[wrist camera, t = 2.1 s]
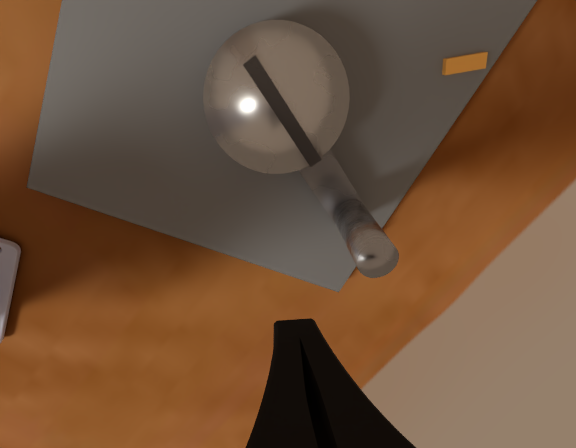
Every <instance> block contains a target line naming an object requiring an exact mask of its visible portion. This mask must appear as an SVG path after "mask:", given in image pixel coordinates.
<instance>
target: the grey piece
mask: <svg viewBox="0 0 576 448" xmlns="http://www.w3.org/2000/svg"><path fill="white" fill-rule="evenodd" d="M349 100H350V95H349V84H348V78H347V75H346V71H345V68H344V66H343V64H342V61H341V59H340V58H339V56H338V54H337V53H336V51H335V50H334V48H333V47H332V46H331V45H330V43H329V42H328V41H327V40H325V39H324V38H323V37H322V36H321V35H320V34H318V33H317V32H315V31H314V30H313V29H311V28H309V27H307V26H305V25H302V24H299V23H296V22H293V21H287V20H267V21H261V22H257V23H254V24H251V25H249V26H247V27H245V28H243V29H241V30H239V31H238V32H236V33H235V34H233V35H232V36H231V37H230V38H229V39H228V40H227V41H225V43H224V44H223V45H222V46H221V47H220V49H219V50H218V51H217V53H216V54H215V56H214V58H213V59H212V61H211V64H210V66H209V68H208V71H207V74H206V78H205V83H204V89H203V104H204V112H205V116H206V120H207V123H208V126H209V129H210V131H211V133H212V135H213V137H214V138H215V140H216V141H217V143H218V144H219V146H220V147H221V148H222V149H223V150H224V151H225V153H226V154H228V155H229V156H230V157H231V158H232V159H233V160H235V161H236V162H238V163H239V164H241V165H243V166H245V167H247V168H249V169H252V170H255V171H258V172H262V173H269V174H284V173H290V172H294V171H298V170H299V172H300V173H301V175H302V176H303V178H304V179H305V181H306V182H307V183H308V185H309V186H310V188H311V189H312V191H313V192H314V194H315V195H316V197H317V198H318V200H319V201H320V202H321V204H322V205H323V207H324V208H325V210H326V211H327V213H328V214H329V216H330V217H331V218H332V220H333V221H334V223H335V224H336V226H337V228H338V230H339V232H340V234H341V236H342V238H343V240H344V242H345V244H346V246H347V248H348V250H349V252H350V254H351V256H352V258H353V260H354V262H355V264H356V266H357V268H358V269H359V271H360V272H361V273H362V274H363V275H364V276H366V277H370V278H377V277H381V276H384V275H386V274H388V273H389V272H391V271H392V270H393V269H394V268H395V266H396V265H397V262H398V259H399V254H398V251H397V249H396V247H395V246H394V245H393V243H392V242H391V241H390V239H389V238H388V237H387V235H386V234H385V233H384V231H383V230H382V229H381V227H380V226H379V224H378V223H377V222H376V220H375V219H374V218H373V216H372V215H371V214H370V212H369V211H368V210H367V208H366V207H365V205H364V204H363V202H362V201H361V199H360V197H359V196H358V194H357V192H356V191H355V189H354V187H353V186H352V184H351V182H350V181H349V179H348V178H347V176H346V174H345V173H344V171H343V169H342V168H341V166H340V164H339V163H338V161H337V159H336V158H335V156H334V155H333V153H332V151H331V150H330V148H331V147H332V146H333V145H334V144H335V142H336V140H337V139H338V137H339V136H340V134H341V132H342V129H343V127H344V125H345V122H346V119H347V114H348V110H349Z"/></svg>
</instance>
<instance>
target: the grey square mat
mask: <svg viewBox="0 0 576 448" xmlns="http://www.w3.org/2000/svg"><path fill="white" fill-rule="evenodd" d="M536 1H537V0H62V4H61V9H60V14H59V20H58V25H57V30H56V35H55V41H54V46H53V51H52V57H51V62H50V67H49V72H48V78H47V83H46V88H45V93H44V99H43V104H42V109H41V115H40V120H39V125H38V130H37V136H36V141H35V146H34V152H33V157H32V162H31V167H30V173H29V178H28V183H27V188H30V189H33V190H36V191H39V192H42V193H45V194H48V195H50V196H53V197H56V198H59V199H62V200H65V201H68V202H71V203H74V204H77V205H80V206H83V207H86V208H89V209H92V210H95V211H98V212H101V213H104V214H107V215H110V216H113V217H116V218H119V219H122V220H125V221H128V222H131V223H134V224H137V225H140V226H143V227H146V228H149V229H152V230H155V231H158V232H161V233H164V234H167V235H170V236H173V237H176V238H179V239H182V240H185V241H188V242H191V243H194V244H197V245H200V246H202V247H205V248H208V249H211V250H214V251H217V252H220V253H223V254H226V255H229V256H232V257H235V258H238V259H241V260H244V261H247V262H250V263H253V264H256V265H259V266H262V267H265V268H268V269H271V270H274V271H277V272H280V273H283V274H286V275H289V276H292V277H295V278H298V279H301V280H304V281H307V282H310V283H313V284H316V285H319V286H322V287H325V288H328V289H331V290H334V291H337V292H339V291H340V289H341V288H342V286H343V285H344V284H345V282H346V281H347V279H348V278H349V276H350V275H351V273H352V272H353V270H354V269H355V267H356V264H355V262H354V260H353V258H352V256H351V254H350V252H349V250H348V248H347V246H346V244H345V242H344V240H343V238H342V236H341V234H340V232H339V230H338V228H337V226H336V224H335V223H334V221H333V220H332V218H331V217H330V216H329V214H328V213H327V211H326V210H325V208H324V207H323V205H322V204H321V202H320V201H319V200H318V198H317V197H316V195H315V194H314V192H313V191H312V189H311V188H310V186H309V185H308V183H307V182H306V181H305V179H304V178H303V176H302V175H301V173H300V172H299V170H298V171H294V172H290V173H284V174H269V173H262V172H258V171H255V170H252V169H249V168H247V167H245V166H243V165H241V164H239V163H238V162H236V161H235V160H233V159H232V158H231V157H230V156H229V155H228V154H226V153H225V151H224V150H223V149H222V148H221V147H220V146H219V144H218V143H217V141H216V140H215V138H214V137H213V135H212V133H211V131H210V129H209V126H208V123H207V120H206V116H205V112H204V104H203V89H204V83H205V78H206V74H207V71H208V68H209V66H210V64H211V61H212V59H213V58H214V56H215V54H216V53H217V51H218V50H219V49H220V47H221V46H222V45H223V44H224V43H225V41H227V40H228V39H229V38H230V37H231V36H232V35H233V34H235V33H236V32H238V31H239V30H241V29H243V28H245V27H247V26H249V25H251V24H254V23H257V22H261V21H267V20H287V21H293V22H296V23H299V24H302V25H305V26H307V27H309V28H311V29H313V30H314V31H315V32H317V33H318V34H320V35H321V36H322V37H323V38H324V39H325V40H327V41H328V42H329V43H330V45H331V46H332V47H333V48H334V50H335V51H336V53H337V54H338V56H339V58H340V59H341V61H342V64H343V66H344V68H345V71H346V75H347V78H348V84H349V95H350V100H349V110H348V114H347V119H346V122H345V125H344V127H343V129H342V132H341V134H340V136H339V137H338V139H337V140H336V142H335V144H334V145H333V146H332V147H331V148H330V150H331V151H332V153H333V155H334V156H335V158H336V159H337V161H338V163H339V164H340V166H341V168H342V169H343V171H344V173H345V174H346V176H347V178H348V179H349V181H350V182H351V184H352V186H353V187H354V189H355V191H356V192H357V194H358V196H359V197H360V199H361V201H362V202H363V204H364V205H365V207H366V208H367V210H368V211H369V212H370V214H371V215H372V216H373V218H374V219H375V220H376V222H377V223H378V224H379V226H380V227H381V229H382V228H383V226H384V225H385V223H386V222H387V220H388V219H389V217H390V216H391V214H392V213H393V212H394V210H395V209H396V207H397V206H398V204H399V203H400V201H401V200H402V198H403V197H404V195H405V194H406V192H407V191H408V189H409V188H410V187H411V185H412V184H413V182H414V181H415V179H416V178H417V176H418V175H419V173H420V172H421V170H422V169H423V167H424V166H425V165H426V163H427V162H428V160H429V159H430V157H431V156H432V154H433V153H434V151H435V150H436V148H437V147H438V145H439V144H440V142H441V141H442V140H443V138H444V137H445V135H446V134H447V132H448V131H449V129H450V128H451V126H452V125H453V123H454V122H455V120H456V119H457V117H458V116H459V115H460V113H461V112H462V110H463V109H464V107H465V106H466V104H467V103H468V101H469V100H470V98H471V97H472V95H473V94H474V93H475V91H476V90H477V88H478V87H479V85H480V84H481V82H482V81H483V79H484V78H485V76H486V75H487V73H488V72H489V70H490V69H491V68H492V66H493V65H494V63H495V62H496V60H497V59H498V57H499V56H500V54H501V53H502V51H503V50H504V48H505V47H506V46H507V44H508V43H509V41H510V40H511V38H512V37H513V35H514V34H515V32H516V31H517V29H518V28H519V26H520V25H521V23H522V22H523V21H524V19H525V18H526V16H527V15H528V13H529V12H530V10H531V9H532V7H533V6H534V4H535V3H536Z"/></svg>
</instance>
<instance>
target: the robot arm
mask: <svg viewBox="0 0 576 448" xmlns="http://www.w3.org/2000/svg"><path fill="white" fill-rule="evenodd" d="M0 247H1V249H0V343H1V342H2V340H3V339H4V334H5V329H6V324H7V319H8V314H9V309H10V304H11V299H12V294H13V289H14V284H15V279H16V274H17V268H18V263H19V258H20V253H21V248H20V247H19V245H17V244H16V243H14V242H12V241H9V240H5V239H2V238H0ZM246 448H416V447H415V446H414V445H413V444H411V443H410V442H409V441H408V440H407V439H406V438H405V437H404V436H403V435H402V434H401V433H400V432H399V431H398V430H397V429H396V428H395V427H394V426H393V425H392V424H391V423H390V422H389V421H388V420H387V419H386V418H385V417H384V416H383V415H382V414H381V413H380V411H379V410H378V409H377V408H376V407H375V406H374V405H373V404H372V402H371V401H370V400H369V399H368V398H367V397H366V395H365V394H364V393H363V392H362V391H361V389H360V388H359V387H358V385H357V384H356V383H355V382H354V380H353V379H352V378H351V377H350V375H349V374H348V373H347V371H346V370H345V368H344V367H343V366H342V364H341V363H340V361H339V360H338V359H337V357H336V356H335V354H334V353H333V351H332V350H331V348H330V347H329V345H328V343H327V342H326V340H325V339H324V337H323V335H322V334H321V332H320V330H319V328H318V326H317V325H316V323H315V321H314V320H313V319H297V320H282V321H276V322H275V323H274V349H273V356H272V361H271V366H270V372H269V376H268V380H267V384H266V388H265V392H264V395H263V399H262V402H261V406H260V409H259V412H258V415H257V418H256V421H255V424H254V427H253V430H252V433H251V435H250V438H249V440H248V443H247V446H246Z"/></svg>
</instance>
